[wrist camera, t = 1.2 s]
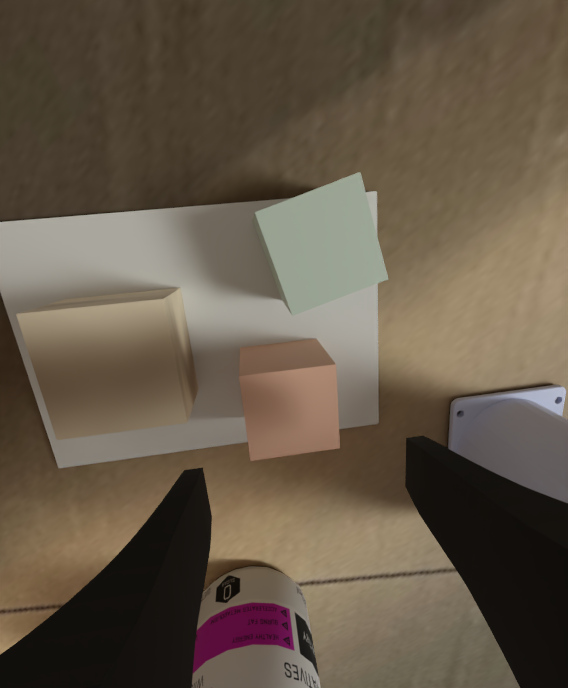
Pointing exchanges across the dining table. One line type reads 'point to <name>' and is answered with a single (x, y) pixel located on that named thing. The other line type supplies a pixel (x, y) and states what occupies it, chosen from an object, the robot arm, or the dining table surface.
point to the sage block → (321, 244)
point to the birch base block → (112, 362)
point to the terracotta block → (289, 399)
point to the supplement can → (254, 633)
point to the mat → (187, 311)
